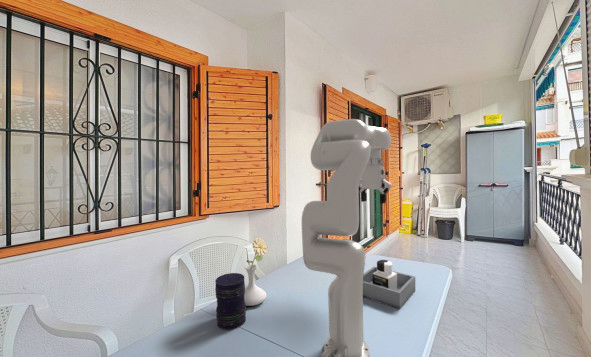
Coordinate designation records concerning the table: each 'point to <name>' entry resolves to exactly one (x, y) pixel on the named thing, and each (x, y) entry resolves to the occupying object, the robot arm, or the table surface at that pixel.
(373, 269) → the bin
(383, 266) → the medicine bottle
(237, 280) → the dark blue cylinder
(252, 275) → the flower in vase
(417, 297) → the table surface
